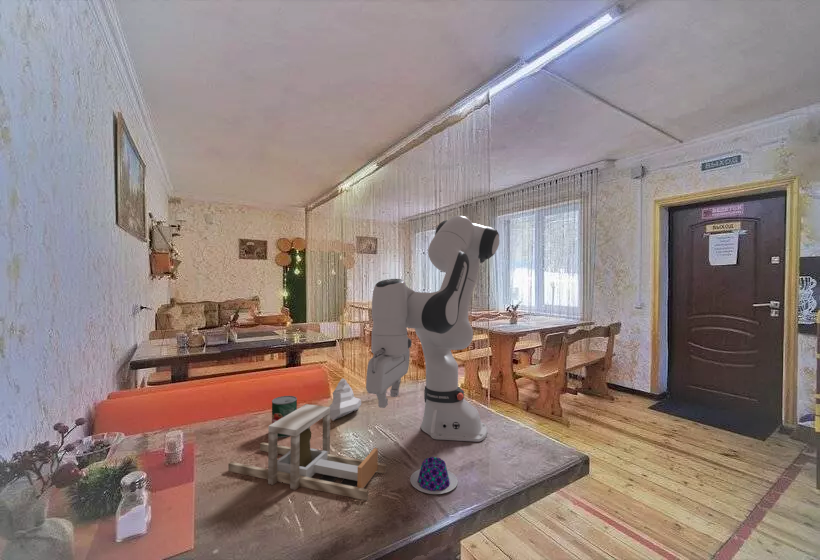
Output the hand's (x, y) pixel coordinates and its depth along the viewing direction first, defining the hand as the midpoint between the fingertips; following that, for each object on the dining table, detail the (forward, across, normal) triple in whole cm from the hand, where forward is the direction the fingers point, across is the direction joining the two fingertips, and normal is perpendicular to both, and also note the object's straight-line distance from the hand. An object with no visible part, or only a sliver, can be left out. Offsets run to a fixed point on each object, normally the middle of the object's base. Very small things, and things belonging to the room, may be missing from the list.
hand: (389, 401), depth 86 cm
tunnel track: (+21, 0, +23) cm, 31 cm away
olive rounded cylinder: (+21, 0, +25) cm, 33 cm away
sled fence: (+21, 0, +17) cm, 27 cm away
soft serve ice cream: (+22, +38, +33) cm, 55 cm away
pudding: (+22, +6, -10) cm, 25 cm away
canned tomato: (+21, +18, +44) cm, 52 cm away
